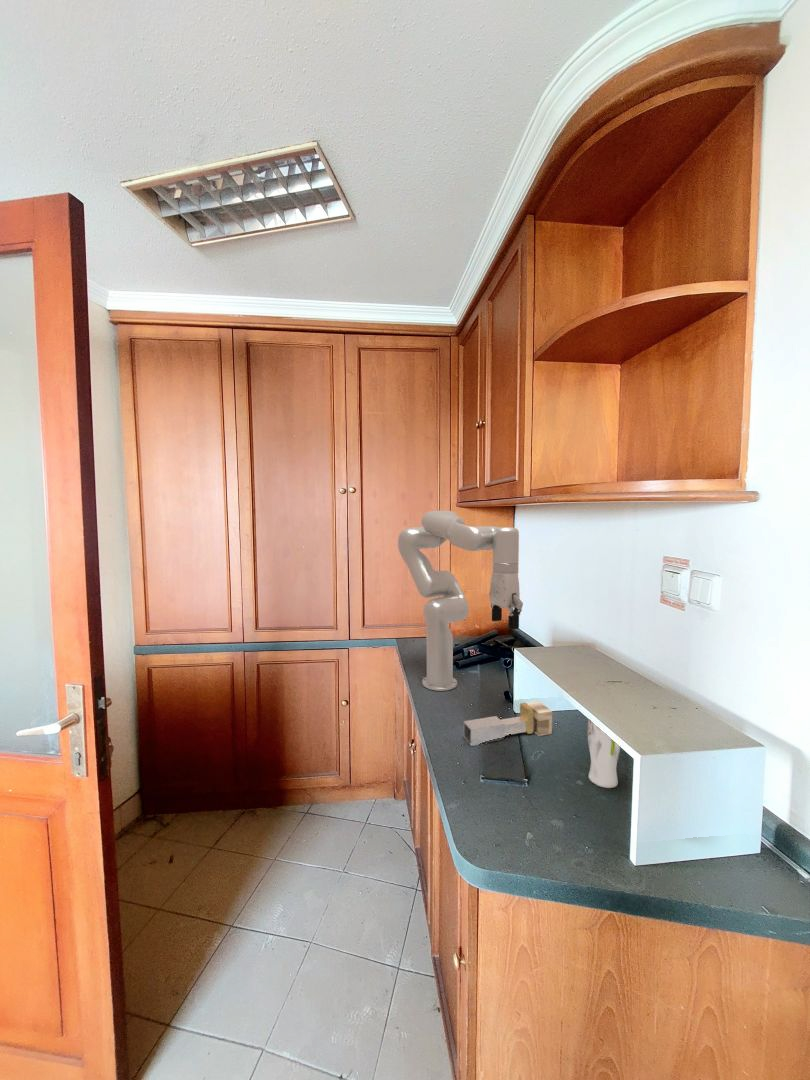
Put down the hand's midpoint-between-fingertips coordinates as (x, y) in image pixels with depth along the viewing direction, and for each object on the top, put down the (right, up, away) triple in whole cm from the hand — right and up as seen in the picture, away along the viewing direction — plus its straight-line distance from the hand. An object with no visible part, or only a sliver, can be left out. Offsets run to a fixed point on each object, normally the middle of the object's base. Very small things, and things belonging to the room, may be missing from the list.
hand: (504, 624), depth 125 cm
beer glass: (+16, -30, -29) cm, 45 cm away
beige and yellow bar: (+2, -29, -8) cm, 30 cm away
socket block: (+8, -29, -6) cm, 30 cm away
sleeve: (-9, -29, -11) cm, 32 cm away
